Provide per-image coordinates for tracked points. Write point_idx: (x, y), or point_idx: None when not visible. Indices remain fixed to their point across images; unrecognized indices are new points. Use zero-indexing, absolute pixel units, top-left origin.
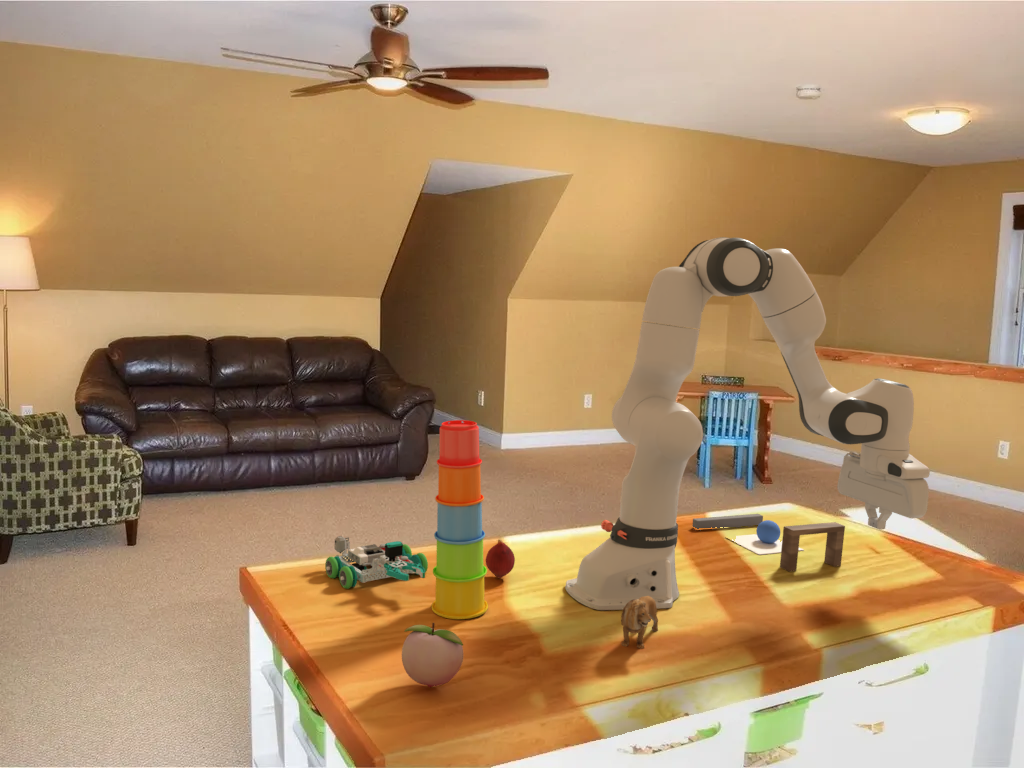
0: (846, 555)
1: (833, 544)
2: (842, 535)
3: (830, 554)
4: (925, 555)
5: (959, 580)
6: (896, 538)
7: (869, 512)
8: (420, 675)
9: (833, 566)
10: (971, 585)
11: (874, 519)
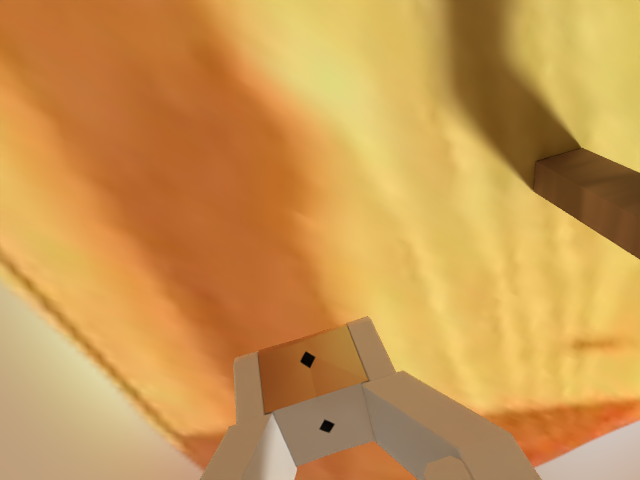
0: (598, 255)
1: (612, 190)
2: (628, 243)
3: (586, 169)
4: (521, 433)
5: None
6: (630, 416)
7: (415, 423)
8: None
9: (537, 161)
10: None
11: (307, 398)
